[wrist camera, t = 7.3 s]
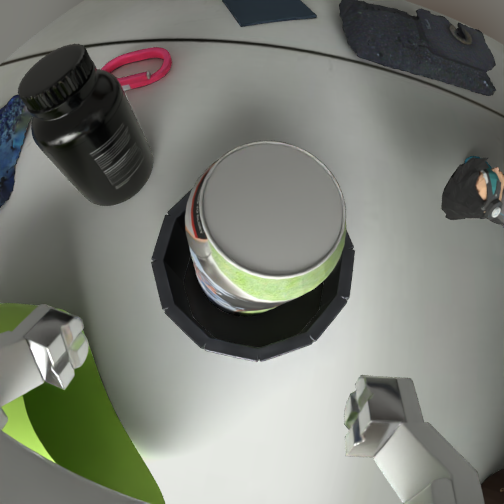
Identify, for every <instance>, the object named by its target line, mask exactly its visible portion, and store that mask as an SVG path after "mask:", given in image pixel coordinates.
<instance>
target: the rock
mask: <svg viewBox="0 0 504 504" xmlns="http://www.w3.org/2000/svg"><path fill="white" fill-rule="evenodd" d="M31 117H33V116H32V115H31V114H30V113H29V111H28V110H27V106H26V105H25V104H24V103H23V101H22V100H21V99H20V97H19V95H15V96H13V97H12V98H11V99H10V100H9V102H8V103H7V104H6V105H5V106H4V107H3V108H1V109H0V207H1V206H2V205H3V204H4V203H5V201H7V200H8V199H9V197H10V193H11V191H13V185H14V174H15V170H14V166H15V164H17V163H16V160H17V158H19V152H21V149H20V146H21V145H23V139H24V138H25V136H24V133H25V132H26V128H27V127H28V123H29V122H30V118H31Z"/></svg>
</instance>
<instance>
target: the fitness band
mask: <svg viewBox="0 0 504 504" xmlns="http://www.w3.org/2000/svg"><path fill="white" fill-rule="evenodd" d="M149 58H161V59H163V60H164V62H163V65H162V67H161V68H160V69H159V70H158V71H157V72H155V73H154V74H152V75H150V72H149V71H147V72H143V73H139V74H135V75H130V76H127V77H122V78H117V79H118V81H119V82H120V84H121V86H122V88H123V90H124V91H125V90H129V89H134V88H138V87H142V86H145V85H148V84H151V83H153V82H156V81H158V80H159V79H161V78H162V77H164V76H165V75H166V74H167V73H168V71H169V70H170V68H171V64H172V61H171V56H170V54H169V52H168V51H167V50H166V49H164V48H159V47H153V48H146V49H142V50H138V51H134V52H130V53H126V54H123V55H121V56H118V57H116V58H114V59H112V60H111V61H109V62H108V63H107V64H106V65H105V66H104V67H103V68H102V69H101V70H104V71H107V72H109V73H111V72H112V71H113V70H115V69H116V68H118V67H120V66H122V65H124V64H128V63H132V62H136V61H140V60H144V59H149Z"/></svg>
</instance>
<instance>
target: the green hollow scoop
mask: <svg viewBox="0 0 504 504" xmlns="http://www.w3.org/2000/svg"><path fill="white" fill-rule="evenodd" d="M37 307H38V306H37V305H29V304H19V303H0V333H3V332H6V331H11V332H12V331H13V330H14V329H15V328H16V327H17V326H18V325H19V324H20V323H21V322H22V321H23V320H24V319H25V318H26V317H27V316H28V315H29V314H30V313H31V312H32V311H33V310H34V309H36V308H37ZM56 309H57V308H56ZM59 310H62V309H59ZM62 311H64V310H62ZM64 312H66V311H64ZM67 313H68V312H67ZM82 332H83V330H82ZM83 334H84V332H83ZM84 335H85V334H84ZM74 374H75V376H74V377H73V379H72V380H71V382H70V383H69V384H68V386H67V387H66V389H65V390H63V389H61V388H58V387H56V386H54V385H52V384H49V383H47V382H45V381H44V383H42V384H41V385H39V386H37V387H35V388H34V389H32V390H30V391H28V392H27V393H25V394H23V395H21V396H20V397H18V398H16V399H14V400H12V401H11V402H9V403H7V404H5V405H4V406H2V407H1V408H2V409H3V411H4V412H5V414H6V415H7V417H8V422H7V423H6V425H5V426H4V428H3V429H2V431H3V432H5V433H6V434H8V435H9V436H11V437H12V438H14V439H15V440H17V441H19V442H20V443H22V444H23V445H25V446H27V447H28V448H30V449H32V450H33V451H35V452H37V453H38V454H40V455H42V456H44V457H45V458H47V459H49V460H51V461H53V462H54V463H56V464H58V465H60V466H62V467H64V468H66V469H68V470H70V471H72V472H74V473H76V474H78V475H80V476H82V477H84V478H86V479H89V480H91V481H93V482H95V483H98V484H100V485H102V486H105V487H107V488H109V489H112V490H114V491H117V492H120V493H122V494H125V495H127V496H130V497H133V498H136V499H139V500H141V501H144V502H147V503H150V504H165V501H164V498H163V496H162V493H161V491H160V489H159V487H158V485H157V483H156V481H155V480H154V478H153V476H152V474H151V473H150V471H149V469H148V468H147V466H146V464H145V463H144V461H143V459H142V458H141V456H140V454H139V453H138V451H137V449H136V448H135V446H134V444H133V443H132V441H131V439H130V438H129V436H128V434H127V433H126V431H125V429H124V427H123V425H122V424H121V422H120V420H119V418H118V416H117V414H116V412H115V410H114V408H113V406H112V404H111V402H110V400H109V398H108V396H107V393H106V391H105V389H104V386H103V384H102V381H101V379H100V376H99V373H98V370H97V367H96V364H95V361H94V359H93V356H92V353H91V350H90V347H89V346H88V354H87V358H86V360H85V362H84V363H83V365H82V366H81V367H78V368H76V369H74Z"/></svg>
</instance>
